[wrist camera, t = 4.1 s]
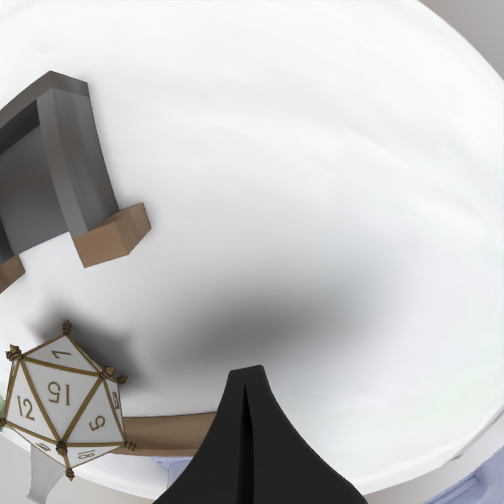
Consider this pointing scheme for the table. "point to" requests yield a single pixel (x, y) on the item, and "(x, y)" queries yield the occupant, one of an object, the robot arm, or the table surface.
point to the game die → (64, 402)
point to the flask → (43, 475)
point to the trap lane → (73, 216)
